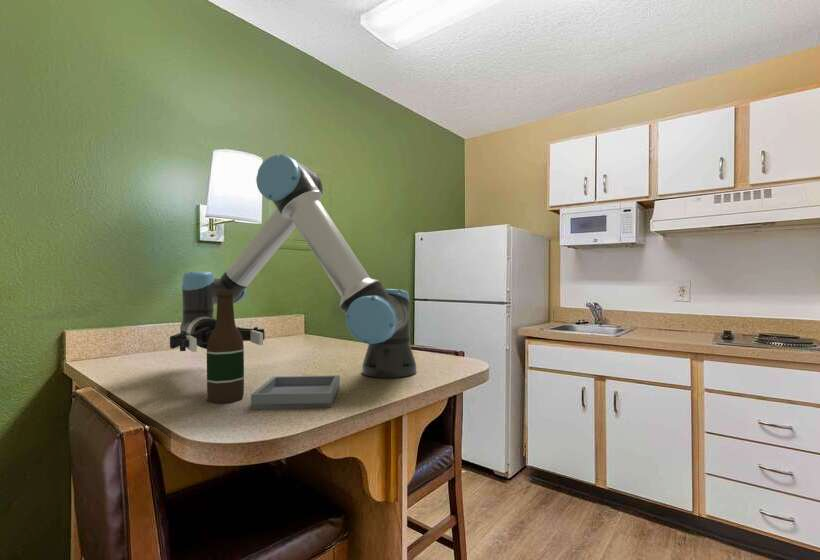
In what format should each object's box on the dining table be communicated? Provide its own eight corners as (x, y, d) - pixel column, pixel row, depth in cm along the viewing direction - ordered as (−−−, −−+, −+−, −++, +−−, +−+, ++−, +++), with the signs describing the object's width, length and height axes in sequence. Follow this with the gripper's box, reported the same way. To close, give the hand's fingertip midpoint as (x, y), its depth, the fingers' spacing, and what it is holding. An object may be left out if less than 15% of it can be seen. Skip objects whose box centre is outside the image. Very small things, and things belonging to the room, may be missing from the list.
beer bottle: (251, 394, 97) (250, 289, 97) (233, 404, 89) (232, 290, 89) (219, 394, 98) (218, 290, 98) (198, 404, 90) (197, 291, 90)
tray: (339, 387, 103) (339, 375, 103) (330, 407, 87) (330, 393, 87) (272, 388, 102) (272, 376, 102) (251, 409, 86) (251, 394, 86)
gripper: (256, 342, 115) (286, 352, 99) (149, 352, 100) (163, 367, 83) (256, 314, 115) (285, 320, 99) (149, 321, 100) (162, 329, 83)
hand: (229, 342), depth 91 cm, fingers open, 13 cm apart
